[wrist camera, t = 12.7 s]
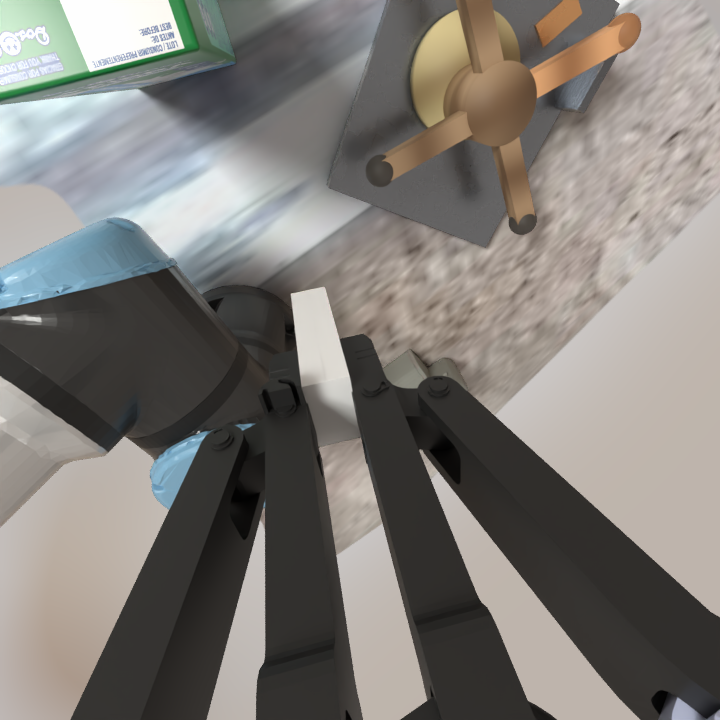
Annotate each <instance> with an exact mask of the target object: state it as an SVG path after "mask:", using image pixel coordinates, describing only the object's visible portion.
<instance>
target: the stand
mask: <svg viewBox="0 0 720 720" xmlns="http://www.w3.org/2000/svg"><path fill="white" fill-rule="evenodd" d="M492 4H493V9H494V10H495V11H496V12H498V13H499V14H501V15H502V16H503V17H504V18H505V19H506V20H507V22H508V23H509V24H510V26H511V27H512V29H513V31H514V33H515V35H516V38H517V41H518V45H519V49H520V62H521V63H522V64H523V65H525V66H526V67H527V68H528V69H529V70H530V69H532V68H534V67H536V66H537V65H539V64H541V63H543V62H544V61H546V60H548V59H550V58H551V57H553V56H555V55H557V54H558V53H560V52H562V51H563V50H565V49H567V48H569V47H570V46H572V45H574V44H576V43H577V42H579V41H581V40H583V39H584V38H586V37H588V36H590V35H591V34H593V33H595V32H597V31H598V30H600V29H602V28H604V27H605V26H607V25H608V24H609V23H610V21H611V19H612V17H613V15H614V13H615V12H616V10H617V8H618V6H619V3H618V2H616V1H615V0H492ZM455 10H458V8H457V4H456V0H387V2H386V5H385V8H384V11H383V14H382V17H381V20H380V23H379V26H378V29H377V32H376V35H375V38H374V41H373V45H372V48H371V51H370V54H369V57H368V60H367V63H366V66H365V69H364V72H363V75H362V78H361V81H360V84H359V87H358V90H357V93H356V96H355V99H354V103H353V106H352V109H351V112H350V115H349V118H348V121H347V124H346V127H345V130H344V133H343V136H342V139H341V142H340V145H339V148H338V151H337V154H336V158H335V161H334V164H333V167H332V170H331V173H330V176H329V179H328V182H327V186H328V188H330V189H333V190H336V191H338V192H341V193H344V194H346V195H349V196H351V197H354V198H357V199H359V200H362V201H365V202H367V203H370V204H372V205H375V206H378V207H380V208H383V209H386V210H388V211H391V212H393V213H396V214H399V215H401V216H404V217H407V218H409V219H412V220H414V221H417V222H420V223H422V224H425V225H428V226H430V227H433V228H435V229H438V230H441V231H443V232H446V233H449V234H451V235H454V236H457V237H459V238H462V239H464V240H467V241H470V242H472V243H475V244H478V245H480V246H483V247H485V248H486V246H487V244H488V242H489V240H490V238H491V237H492V235H493V233H494V231H495V229H496V228H497V226H498V224H499V222H500V220H501V218H502V217H503V215H504V213H505V211H506V205H505V201H504V196H503V192H502V188H501V184H500V180H499V176H498V172H497V168H496V164H495V160H494V156H493V151H492V147H491V146H488V145H484V144H481V143H478V142H475V141H472V140H464V141H461V142H459V143H457V144H455V145H453V146H452V147H450V148H448V149H446V150H445V151H443V152H441V153H439V154H438V155H436V156H434V157H432V158H430V159H429V160H427V161H425V162H423V163H422V164H420V165H418V166H416V167H415V168H413V169H411V170H409V171H407V172H406V173H404V174H402V175H400V176H399V177H397V178H395V179H393V180H392V182H391V183H390V184H389V185H387V186H385V187H376V186H373V185H372V184H371V183H370V182H369V181H368V179H367V177H366V165H367V163H368V161H369V160H370V159H371V158H372V157H374V156H376V155H381V154H384V153H386V152H388V151H389V150H391V149H393V148H395V147H396V146H398V145H400V144H402V143H403V142H405V141H407V140H409V139H410V138H412V137H414V136H415V135H417V134H419V133H421V132H422V131H424V130H426V129H428V128H427V127H426V126H425V125H424V124H423V123H422V122H421V120H420V119H419V117H418V115H417V114H416V111H415V109H414V106H413V102H412V99H411V92H410V74H411V68H412V63H413V59H414V56H415V53H416V51H417V48H418V46H419V44H420V42H421V40H422V39H423V37H424V36H425V34H426V33H427V31H428V30H429V29H430V28H431V27H432V25H434V24H435V23H436V22H437V21H438V20H439V19H440V18H442V17H443V16H445V15H446V14H448V13H450V12H452V11H455ZM617 55H618V54H615V55H613V56H611V57H609V58H608V59H606V60H604V61H602V62H600V63H599V64H597V65H595V66H593V67H592V68H590V69H588V70H586V71H585V72H583V73H581V74H579V75H577V76H576V77H574V78H572V79H570V80H569V81H567V82H565V83H563V84H562V85H560V86H558V87H556V88H554V89H553V90H551V91H549V92H547V93H546V94H544V95H542V96H540V97H539V98H537V100H536V106H535V110H534V113H533V116H532V118H531V120H530V122H529V124H528V125H527V127H526V128H525V129H524V131H523V132H522V133H521V134H520V135H519V138H520V143H521V148H522V153H523V158H524V163H525V168H526V173H527V171H528V169H529V168H530V166H531V164H532V162H533V160H534V159H535V157H536V155H537V153H538V151H539V150H540V148H541V146H542V144H543V142H544V140H545V139H546V137H547V135H548V133H549V131H550V130H551V128H552V126H553V124H554V122H555V120H556V119H557V117H558V115H559V113H560V111H561V110H563V111H571V112H579V113H584V112H585V110H586V109H587V107H588V105H589V103H590V102H591V100H592V98H593V96H594V95H595V93H596V91H597V90H598V88H599V86H600V84H601V83H602V81H603V79H604V77H605V76H606V74H607V72H608V70H609V69H610V67H611V65H612V64H613V62H614V60H615V58H616V57H617Z"/></svg>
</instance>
